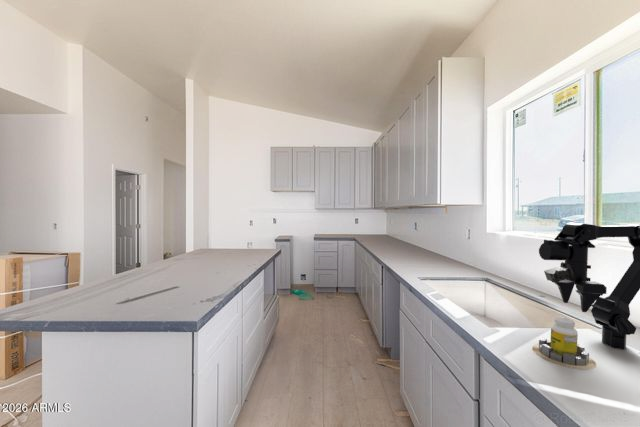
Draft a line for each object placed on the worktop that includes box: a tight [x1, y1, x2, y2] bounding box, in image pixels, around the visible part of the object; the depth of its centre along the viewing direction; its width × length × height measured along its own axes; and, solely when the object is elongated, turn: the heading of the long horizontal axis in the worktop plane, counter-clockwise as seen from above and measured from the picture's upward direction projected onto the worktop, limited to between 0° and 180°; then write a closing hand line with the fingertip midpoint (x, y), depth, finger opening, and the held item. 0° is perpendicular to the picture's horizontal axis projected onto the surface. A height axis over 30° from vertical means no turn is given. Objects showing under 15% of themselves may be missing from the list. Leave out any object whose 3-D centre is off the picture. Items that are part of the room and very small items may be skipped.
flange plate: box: [532, 343, 597, 370], centre depth 89 cm, size 15×15×1 cm
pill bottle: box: [550, 316, 579, 357], centre depth 89 cm, size 6×6×11 cm
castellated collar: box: [538, 337, 590, 366], centre depth 89 cm, size 11×11×3 cm
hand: (574, 307), depth 98 cm, fingers open, 9 cm apart
